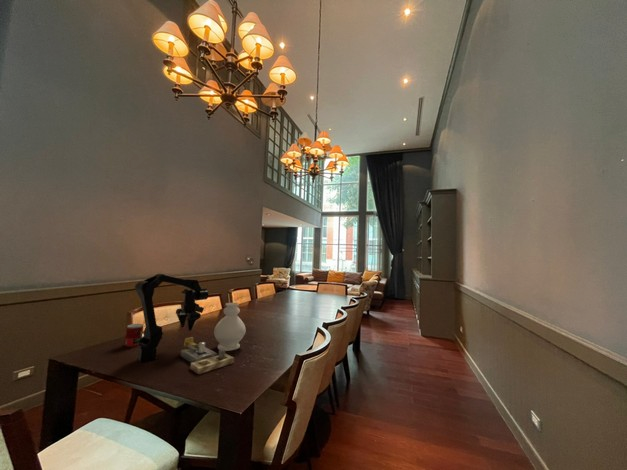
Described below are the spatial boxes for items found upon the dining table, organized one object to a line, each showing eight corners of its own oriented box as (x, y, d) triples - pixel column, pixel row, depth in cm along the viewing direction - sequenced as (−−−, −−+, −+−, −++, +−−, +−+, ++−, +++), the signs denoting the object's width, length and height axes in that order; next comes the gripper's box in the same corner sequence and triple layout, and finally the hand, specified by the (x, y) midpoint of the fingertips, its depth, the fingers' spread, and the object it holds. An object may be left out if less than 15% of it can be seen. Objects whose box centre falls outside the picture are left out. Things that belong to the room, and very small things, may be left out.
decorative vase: (248, 343, 156) (251, 302, 158) (237, 353, 138) (240, 307, 141) (221, 340, 158) (224, 300, 160) (206, 350, 140) (210, 305, 143)
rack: (198, 374, 112) (200, 360, 113) (190, 368, 117) (191, 355, 118) (233, 362, 126) (234, 350, 127) (224, 358, 131) (225, 346, 132)
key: (190, 349, 132) (191, 342, 132) (184, 346, 137) (184, 338, 137) (199, 347, 135) (199, 340, 136) (192, 344, 140) (192, 336, 141)
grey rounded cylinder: (199, 360, 127) (200, 344, 128) (196, 358, 129) (198, 342, 130) (205, 358, 129) (206, 343, 130) (202, 357, 131) (203, 341, 132)
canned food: (135, 347, 140) (137, 327, 141) (121, 346, 140) (123, 326, 141) (144, 343, 147) (146, 324, 148) (131, 342, 147) (133, 323, 148)
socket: (195, 365, 121) (196, 355, 122) (180, 356, 131) (181, 346, 132) (216, 359, 130) (217, 349, 130) (200, 350, 140) (201, 341, 140)
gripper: (210, 302, 145) (207, 330, 143) (195, 298, 157) (192, 323, 155) (191, 303, 137) (188, 333, 135) (177, 299, 149) (173, 326, 147)
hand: (186, 328), depth 143 cm, fingers open, 9 cm apart
